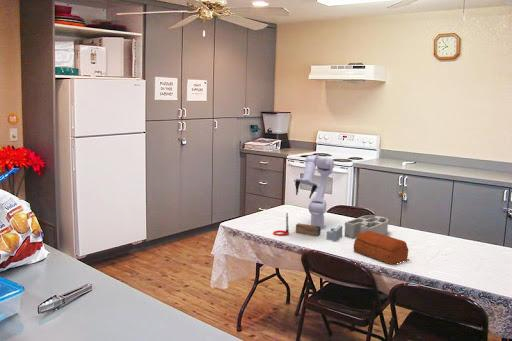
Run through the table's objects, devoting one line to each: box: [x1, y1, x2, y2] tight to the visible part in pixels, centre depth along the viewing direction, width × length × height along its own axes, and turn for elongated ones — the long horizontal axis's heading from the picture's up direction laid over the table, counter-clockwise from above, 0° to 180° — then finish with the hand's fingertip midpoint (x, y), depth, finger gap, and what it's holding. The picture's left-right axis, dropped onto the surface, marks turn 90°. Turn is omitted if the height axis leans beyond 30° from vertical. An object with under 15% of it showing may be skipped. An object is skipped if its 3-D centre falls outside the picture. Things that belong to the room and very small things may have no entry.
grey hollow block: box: [344, 214, 389, 239], centre depth 286 cm, size 17×28×9 cm, turn 138°
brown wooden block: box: [295, 222, 322, 237], centre depth 286 cm, size 4×14×5 cm, turn 63°
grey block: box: [326, 225, 343, 242], centre depth 278 cm, size 12×6×6 cm, turn 153°
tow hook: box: [272, 212, 290, 237], centre depth 284 cm, size 8×13×9 cm
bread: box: [353, 231, 409, 265], centre depth 250 cm, size 16×27×11 cm, turn 37°
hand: (303, 196), depth 272 cm, fingers open, 7 cm apart
